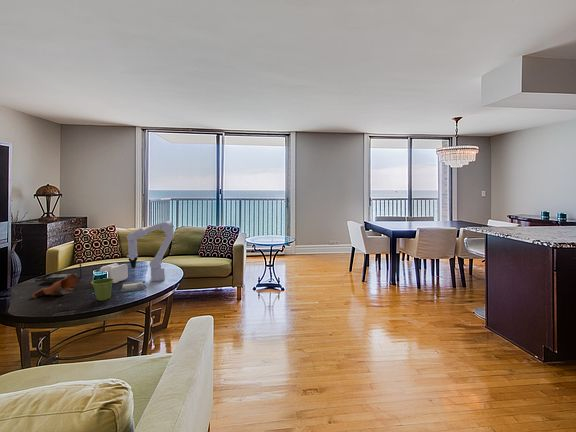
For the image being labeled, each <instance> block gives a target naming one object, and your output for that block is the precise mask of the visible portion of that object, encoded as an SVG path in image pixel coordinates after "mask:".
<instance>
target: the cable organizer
mask: <svg viewBox="0 0 576 432" xmlns="http://www.w3.org/2000/svg"><path fill="white" fill-rule="evenodd" d="M128 266H129V265H128V264H127V263H123V264H119V263H118V262H117V263H111V264H108V265H104V266H101V267H100V268H99V273H100V272H102V271H107V272H108V278H112V279H114V280H113V283H112V284H116V283H119V282H123V281H125V280H126V279H128V278H129V271H128Z"/></svg>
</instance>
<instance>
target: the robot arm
mask: <svg viewBox="0 0 576 432" xmlns="http://www.w3.org/2000/svg"><path fill="white" fill-rule="evenodd" d="M174 228H175V227H174V224H173V221H171V220H166V221H162V222H158V223H156V224H153V225H152V226H150V227H147V228H144V227H139V228H138V229H136V230H133V231H132V232H130V233H128V234H127V235H126V240H127V249H128V255H126V257H127V258H128V261H129V263H130V267H131V269H135V268H136V265H137V260H138V257H139V255H138V241H137V240H139V239H141V238H143V237H145V236H147V235H148V233H151V232H153V231H156V230H162V231H163V232H164V235H165V238H164V240H162V241H163V242H162V243H161V245H160V247H159V249H158V250H157V253H156V254H155V255H154V257H153V258H152V260H151V261H150V262H149V267H150V282H151V283H152V282H161V281H165V280H166V279H165V278H166V275H165V266H163V267H162V263H163V258H164V255H165V253H166V251H167V250H168V247H169V246H170V244H171V242H172V240H173V239H174V237H175V229H174Z"/></svg>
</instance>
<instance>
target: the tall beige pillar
mask: <svg viewBox="0 0 576 432" xmlns="http://www.w3.org/2000/svg"><path fill="white" fill-rule="evenodd" d="M136 282H137V281H136ZM122 286H123V288H125V289H132V288H141V286H143V283H142V282H137V283H133V284H124V285H123V284H122Z"/></svg>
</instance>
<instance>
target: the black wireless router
mask: <svg viewBox="0 0 576 432" xmlns="http://www.w3.org/2000/svg"><path fill="white" fill-rule="evenodd" d="M74 273H75V272H74ZM74 273H73V274H74ZM71 274H72V273H57V274H54V273H53V274H51V275H49V276H47V277H46V278H44V281H45V282H44V283H45V284H53V283H55V282H58V281H60V280H62V279H64V278H65V277H67V276H69V275H71ZM74 275H76V277H77V278H78V279H79V280H82V279H83V273H82V263H81V256H79V276H78V273H75V274H74Z"/></svg>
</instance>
